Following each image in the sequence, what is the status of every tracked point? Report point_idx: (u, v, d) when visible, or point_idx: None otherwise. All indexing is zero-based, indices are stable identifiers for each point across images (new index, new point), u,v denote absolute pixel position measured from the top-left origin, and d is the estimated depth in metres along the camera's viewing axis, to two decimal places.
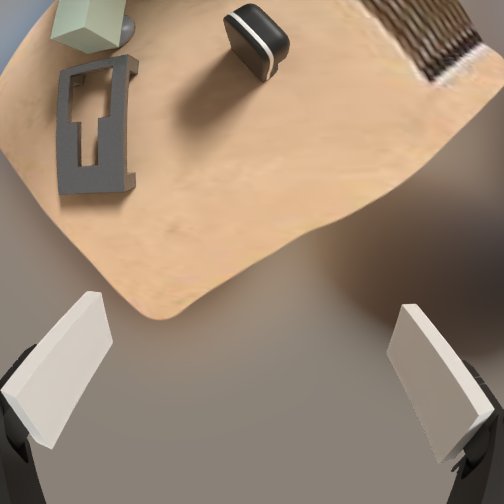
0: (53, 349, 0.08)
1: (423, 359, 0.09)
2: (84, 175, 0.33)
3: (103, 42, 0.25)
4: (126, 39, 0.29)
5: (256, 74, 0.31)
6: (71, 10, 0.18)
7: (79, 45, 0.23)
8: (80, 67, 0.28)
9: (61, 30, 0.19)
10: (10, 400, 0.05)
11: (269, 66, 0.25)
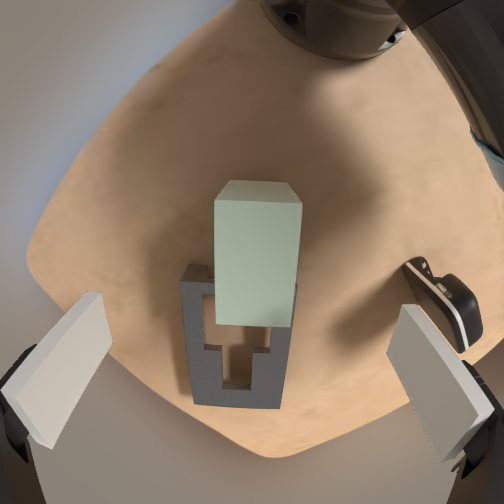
0: (53, 349, 0.08)
1: (423, 359, 0.09)
2: (231, 395, 0.33)
3: None
4: None
5: (420, 303, 0.31)
6: (256, 284, 0.18)
7: None
8: None
9: (239, 318, 0.18)
10: (10, 400, 0.05)
11: None
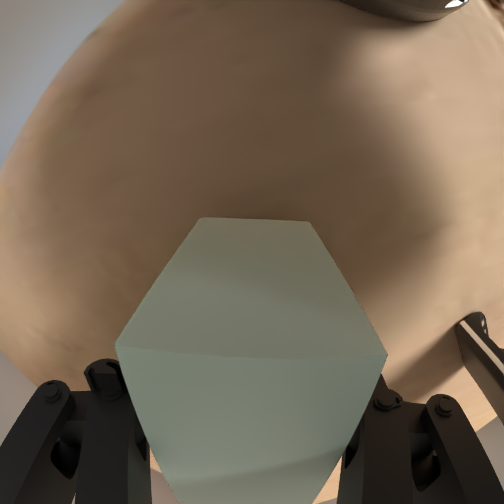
0: None
1: None
2: None
3: None
4: None
5: (468, 369, 0.19)
6: (248, 479, 0.06)
7: None
8: None
9: (218, 503, 0.07)
10: None
11: None
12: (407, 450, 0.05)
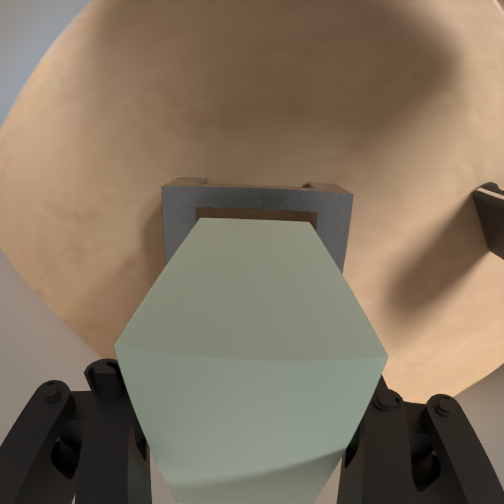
0: None
1: None
2: None
3: None
4: None
5: (494, 247, 0.19)
6: (248, 481, 0.06)
7: None
8: (225, 193, 0.16)
9: (218, 503, 0.07)
10: None
11: None
12: (407, 450, 0.05)
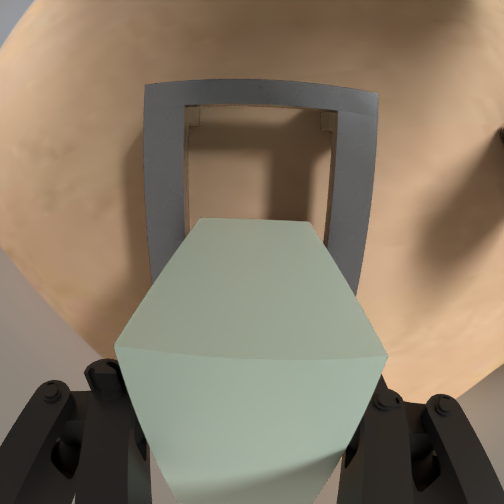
0: None
1: None
2: None
3: None
4: None
5: None
6: (248, 480, 0.06)
7: None
8: (221, 86, 0.12)
9: (218, 503, 0.07)
10: None
11: None
12: (407, 450, 0.05)
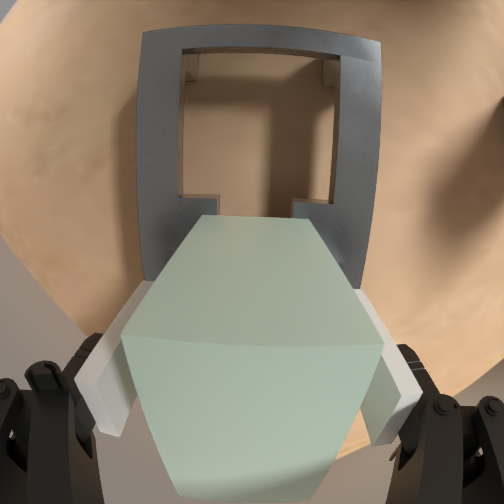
0: None
1: None
2: None
3: None
4: None
5: None
6: (249, 471, 0.07)
7: None
8: (221, 31, 0.10)
9: (219, 496, 0.07)
10: (84, 388, 0.07)
11: None
12: (459, 454, 0.04)
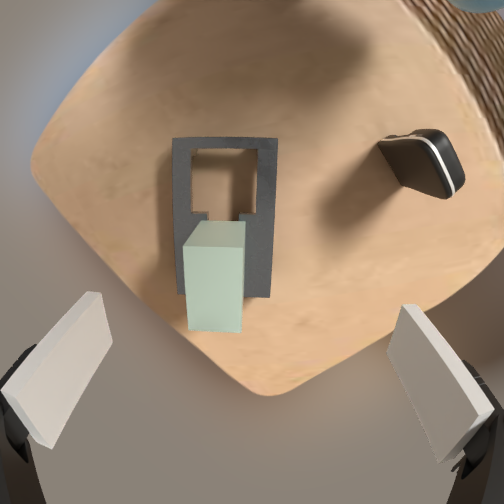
0: (53, 349, 0.08)
1: (423, 359, 0.09)
2: None
3: None
4: None
5: (402, 180, 0.32)
6: (214, 302, 0.25)
7: None
8: (206, 140, 0.29)
9: (204, 326, 0.26)
10: (10, 400, 0.05)
11: None
12: None
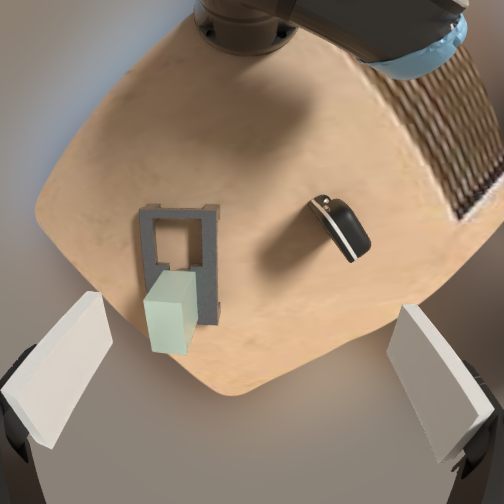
0: (53, 349, 0.08)
1: (423, 359, 0.09)
2: None
3: None
4: None
5: None
6: (167, 335, 0.35)
7: None
8: (163, 212, 0.39)
9: (162, 349, 0.36)
10: (10, 400, 0.05)
11: None
12: None
